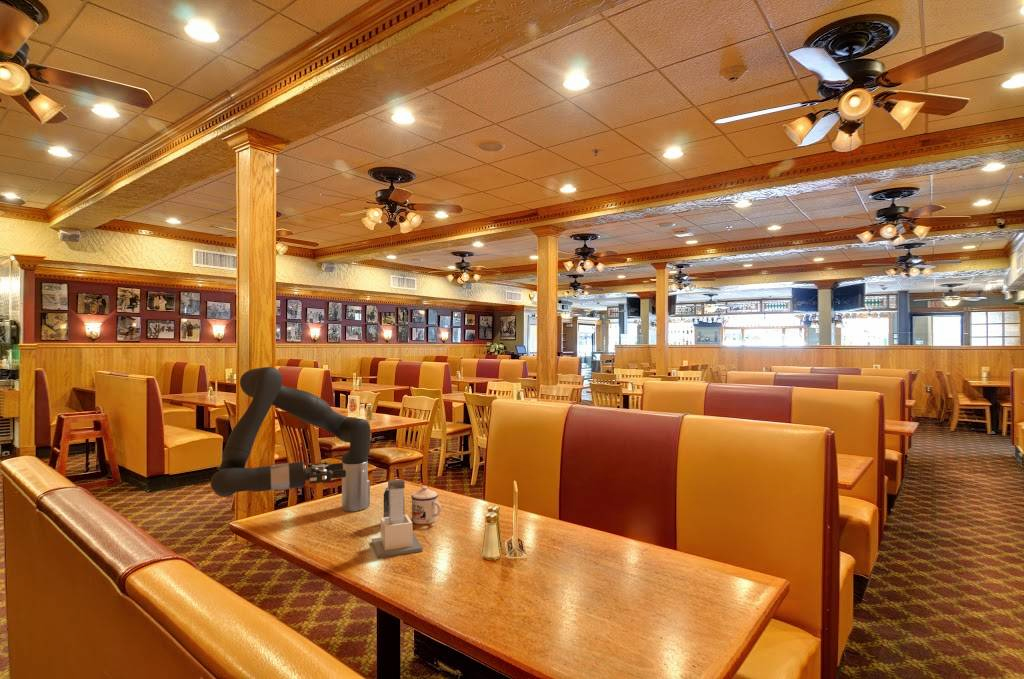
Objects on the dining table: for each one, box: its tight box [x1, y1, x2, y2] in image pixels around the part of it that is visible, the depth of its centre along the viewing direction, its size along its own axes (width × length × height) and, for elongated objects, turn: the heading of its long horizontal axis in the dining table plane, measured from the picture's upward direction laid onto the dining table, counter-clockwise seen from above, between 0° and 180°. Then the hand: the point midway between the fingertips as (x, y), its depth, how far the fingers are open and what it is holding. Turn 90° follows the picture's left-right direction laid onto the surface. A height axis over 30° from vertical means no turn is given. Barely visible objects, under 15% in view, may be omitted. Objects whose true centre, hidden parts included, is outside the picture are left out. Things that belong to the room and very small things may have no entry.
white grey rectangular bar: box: [387, 478, 406, 525], centre depth 165 cm, size 3×4×18 cm, turn 112°
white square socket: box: [371, 514, 423, 559], centre depth 165 cm, size 13×13×8 cm
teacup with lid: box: [410, 485, 442, 525], centre depth 187 cm, size 12×9×12 cm
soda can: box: [383, 486, 389, 517], centre depth 185 cm, size 7×7×12 cm
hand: (344, 469), depth 168 cm, fingers open, 8 cm apart
